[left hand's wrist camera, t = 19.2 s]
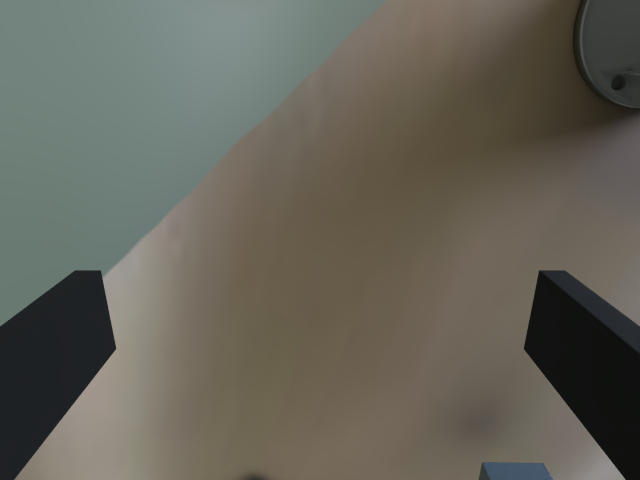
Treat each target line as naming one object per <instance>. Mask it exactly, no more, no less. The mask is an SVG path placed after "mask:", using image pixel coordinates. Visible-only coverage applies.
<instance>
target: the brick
mask: <svg viewBox="0 0 640 480" xmlns="http://www.w3.org/2000/svg"><path fill="white" fill-rule="evenodd" d="M479 480H553V479H552V477H551V476H550V474H549V472H548V471H547V469H546V467H545V466H544V464H543V463H491V462H482V466H481V471H480V476H479Z"/></svg>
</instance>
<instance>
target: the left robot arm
mask: <svg viewBox="0 0 640 480" xmlns="http://www.w3.org/2000/svg"><path fill="white" fill-rule="evenodd" d="M574 50H575V57H576V61H577V65H578V68H579V70H580V73H581V75H582V77H583V79H584V80H585V82H586V83H587V85H588V86H589V87H590V88H591V89H592V90H593V91H594V92H595V93H596V94H597V95H598V96H599V97H601V98H603V99H604V100H606V101H608V102H610V103H612V104H615V105H618V106H623V107H630V108H640V0H582V3H581V5H580V8H579V11H578V15H577V19H576V24H575V32H574ZM115 350H116V345H115V340H114V335H113V330H112V325H111V320H110V315H109V310H108V305H107V300H106V295H105V290H104V285H103V280H102V274H101V271H74V272H73V273H71V274H70V275H69V276H67V277H66V278H65V279H63V280H62V281H60V282H59V283H58V284H57V285H55V286H54V287H53V288H51V289H50V290H49V291H47V292H46V293H44V294H43V295H42V296H40V297H39V298H38V299H36V300H35V301H34V302H32V303H31V304H30V305H28V306H27V307H26V308H24V309H23V310H22V311H20V312H19V313H18V314H16V315H15V316H14V317H12V318H11V319H10V320H8V321H7V322H6V323H4V324H3V325H2V326H0V480H14V479H15V478H16V477H17V475H18V474H19V473H20V471H21V470H22V469H23V468H24V466H25V465H26V464H27V463H28V461H29V460H30V459H31V457H32V456H33V455H34V454H35V452H36V451H37V450H38V448H39V447H40V446H41V445H42V443H43V442H44V441H45V439H46V438H47V437H48V436H49V434H50V433H51V432H52V430H53V429H54V428H55V427H56V425H57V424H58V423H59V421H60V420H61V419H62V418H63V416H64V415H65V414H66V413H67V411H68V410H69V409H70V407H71V406H72V405H73V404H74V402H75V401H76V400H77V398H78V397H79V396H80V395H81V393H82V392H83V391H84V389H85V388H86V387H87V386H88V384H89V383H90V382H91V380H92V379H93V378H94V377H95V375H96V374H97V373H98V371H99V370H100V369H101V368H102V366H103V365H104V364H105V363H106V361H107V360H108V359H109V357H110V356H111V355H112V354H113V352H114V351H115ZM524 350H525V351H526V352H527V354H528V355H529V356H530V357H531V359H532V360H533V361H534V363H535V364H536V365H537V366H538V368H539V369H540V370H541V371H542V373H543V374H544V375H545V377H546V378H547V379H548V380H549V382H550V383H551V384H552V386H553V387H554V388H555V389H556V391H557V392H558V393H559V395H560V396H561V397H562V398H563V400H564V401H565V402H566V404H567V405H568V406H569V407H570V409H571V410H572V411H573V413H574V414H575V415H576V416H577V418H578V419H579V420H580V421H581V423H582V424H583V425H584V427H585V428H586V429H587V430H588V432H589V433H590V434H591V436H592V437H593V438H594V439H595V441H596V442H597V443H598V445H599V446H600V447H601V448H602V450H603V451H604V452H605V454H606V455H607V456H608V457H609V459H610V460H611V461H612V463H613V464H614V465H615V466H616V468H617V469H618V470H619V471H620V473H621V474H622V475H623V477H624V478H625V479H626V480H640V326H638V325H637V324H636V323H634V322H633V321H632V320H630V319H629V318H628V317H626V316H625V315H624V314H622V313H621V312H620V311H618V310H617V309H616V308H614V307H613V306H612V305H610V304H609V303H608V302H606V301H605V300H604V299H602V298H601V297H600V296H598V295H597V294H596V293H594V292H593V291H592V290H590V289H589V288H588V287H586V286H585V285H584V284H582V283H581V282H580V281H578V280H577V279H575V278H574V277H573V276H571V275H570V274H569V273H567V272H566V271H539V274H538V279H537V285H536V290H535V295H534V300H533V305H532V310H531V315H530V320H529V325H528V330H527V335H526V340H525V345H524Z"/></svg>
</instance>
